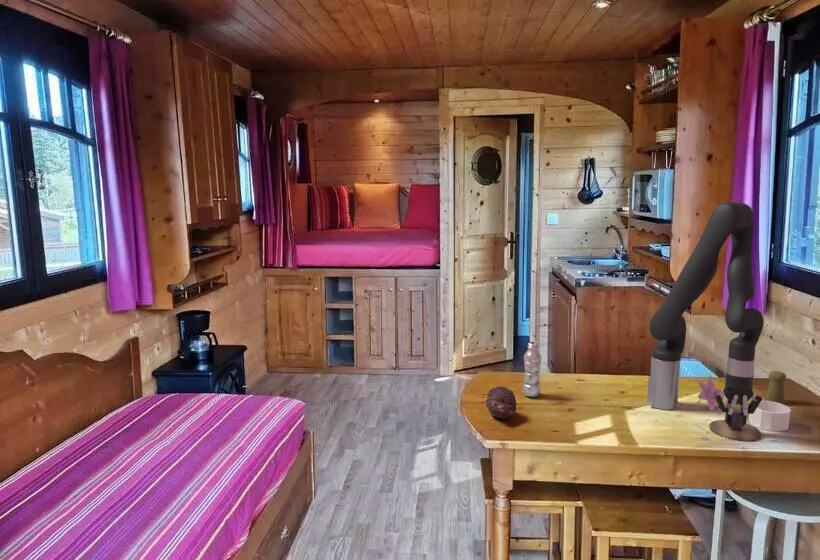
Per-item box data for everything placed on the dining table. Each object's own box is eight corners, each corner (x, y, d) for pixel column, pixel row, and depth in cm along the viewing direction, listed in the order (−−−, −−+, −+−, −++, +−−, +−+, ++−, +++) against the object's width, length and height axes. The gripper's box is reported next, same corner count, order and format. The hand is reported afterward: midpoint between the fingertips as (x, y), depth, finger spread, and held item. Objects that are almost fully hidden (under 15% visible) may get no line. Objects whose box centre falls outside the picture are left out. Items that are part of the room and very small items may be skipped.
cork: (787, 405, 207) (790, 375, 205) (768, 404, 208) (771, 374, 207) (780, 399, 213) (783, 369, 211) (762, 398, 214) (765, 368, 212)
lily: (690, 413, 204) (706, 393, 199) (679, 389, 214) (694, 370, 209) (721, 422, 205) (738, 403, 200) (709, 398, 215) (725, 379, 210)
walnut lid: (719, 440, 181) (720, 421, 180) (703, 421, 194) (704, 404, 193) (768, 442, 179) (770, 423, 178) (748, 423, 193) (750, 406, 191)
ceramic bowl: (757, 430, 187) (759, 412, 186) (743, 416, 198) (744, 399, 197) (795, 432, 186) (797, 414, 185) (778, 418, 196) (780, 401, 195)
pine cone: (480, 406, 208) (480, 379, 207) (507, 405, 209) (508, 378, 208) (492, 427, 191) (493, 397, 189) (522, 425, 192) (523, 396, 190)
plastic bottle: (543, 394, 219) (545, 342, 216) (536, 400, 213) (538, 346, 210) (526, 391, 223) (528, 339, 219) (519, 397, 217) (521, 344, 213)
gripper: (720, 375, 181) (715, 429, 183) (769, 377, 179) (764, 431, 182) (711, 367, 188) (707, 419, 191) (758, 369, 186) (754, 421, 189)
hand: (735, 424), depth 186 cm, fingers closed on walnut lid, 3 cm apart
